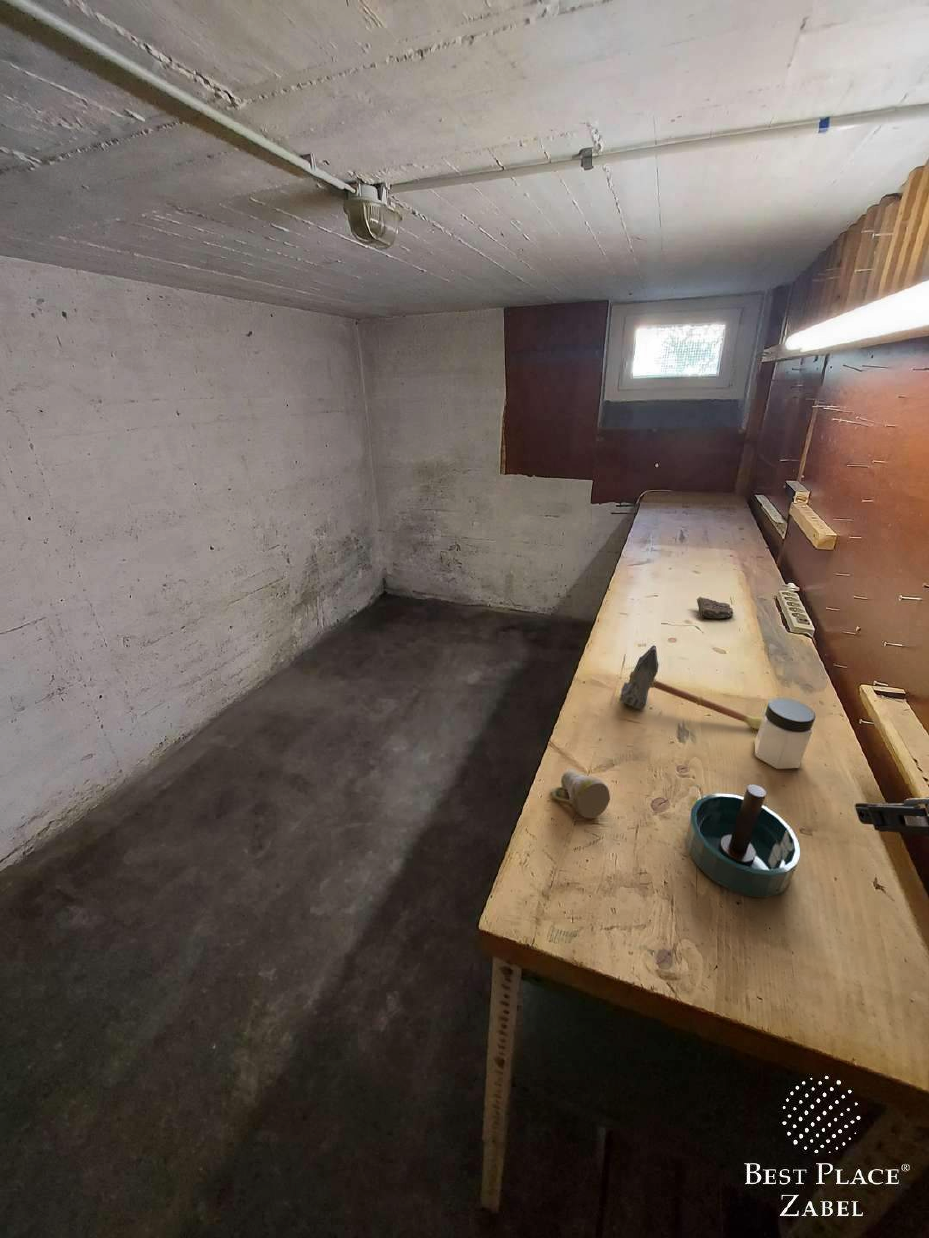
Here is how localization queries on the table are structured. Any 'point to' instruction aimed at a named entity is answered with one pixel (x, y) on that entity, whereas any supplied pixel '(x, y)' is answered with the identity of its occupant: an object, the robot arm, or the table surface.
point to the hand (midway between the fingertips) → (893, 809)
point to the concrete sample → (714, 608)
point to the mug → (584, 794)
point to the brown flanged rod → (744, 828)
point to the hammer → (668, 690)
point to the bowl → (768, 839)
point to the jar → (784, 733)
